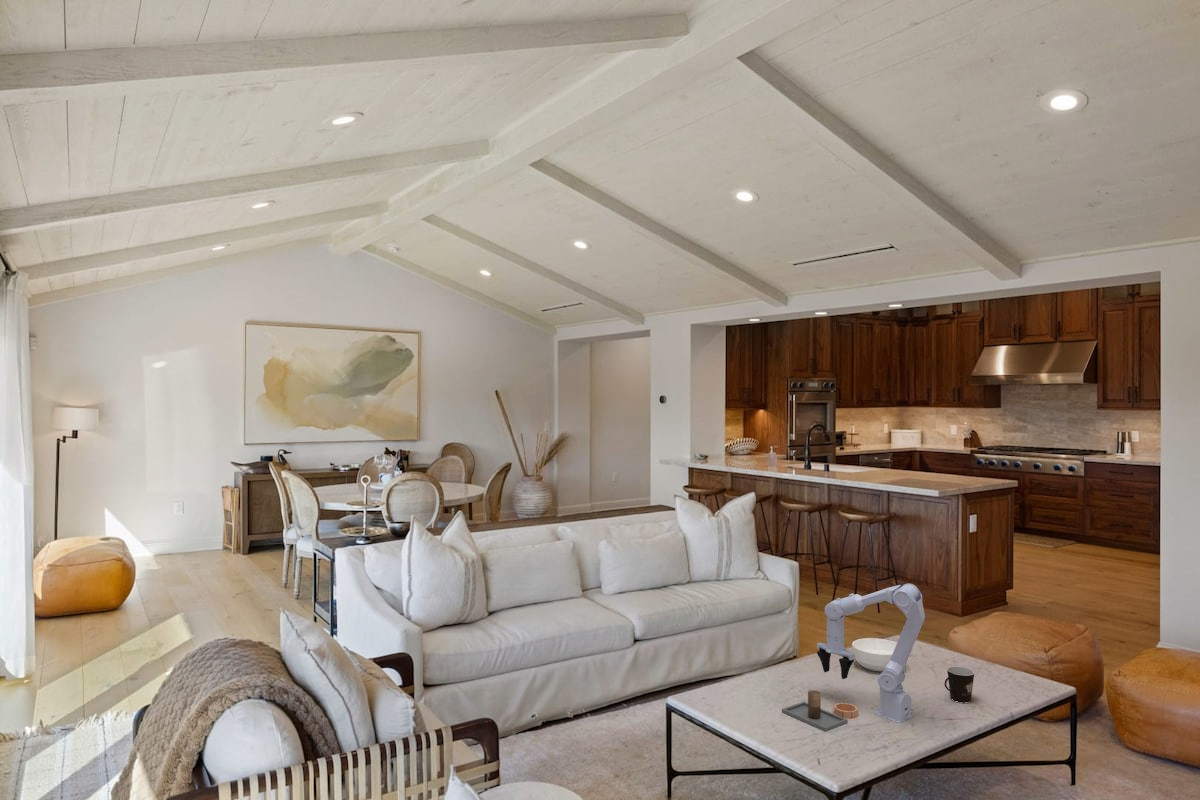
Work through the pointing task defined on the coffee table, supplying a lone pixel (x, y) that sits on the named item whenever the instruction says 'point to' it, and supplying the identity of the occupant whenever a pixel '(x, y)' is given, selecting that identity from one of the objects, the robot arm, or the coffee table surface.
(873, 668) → the bowl
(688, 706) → the coffee table surface
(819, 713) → the walnut peg
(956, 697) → the coffee mug
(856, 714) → the terracotta cup
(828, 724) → the charcoal tray
